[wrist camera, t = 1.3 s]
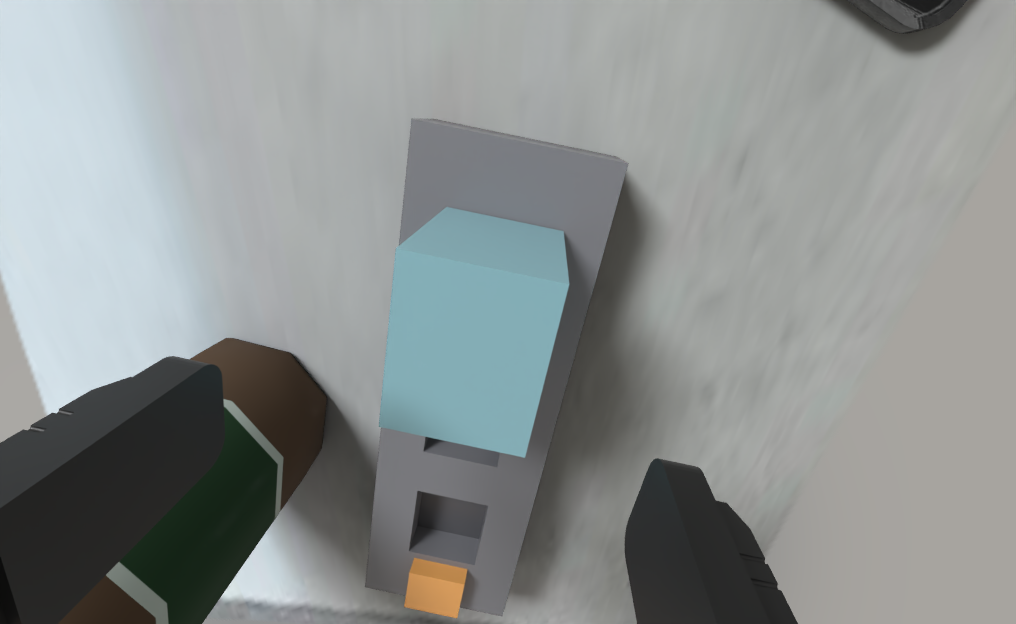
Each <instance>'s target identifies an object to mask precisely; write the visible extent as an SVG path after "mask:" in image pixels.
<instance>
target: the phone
mask: <svg viewBox="0 0 1016 624" xmlns="http://www.w3.org/2000/svg"><path fill="white" fill-rule="evenodd" d="M847 1H848V2H850V3H851V4H853V5H854V6H856V7H857V8H858V9H860V10H861V11H863V12H864V13H865V14H867V15H868V16H870V17H871V18H872V19H874V20H875V21H877V22H878V23H879V24H881V25H882V26H884V27H885V28H886V29H889V30H891V31H893V32H896V33H911V32H915V31H919V30H923V29H927V28H930V27H934V26H937V25H939V24H941V23H942V22H944V21H946V20H947V19H949V18H951V17H952V16H953V15H954V14H955V13H956V12H957V11H958V10H959V9H960V8H961V7H962V6H963V5H964V3H965V2H966V1H967V0H847Z"/></svg>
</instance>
